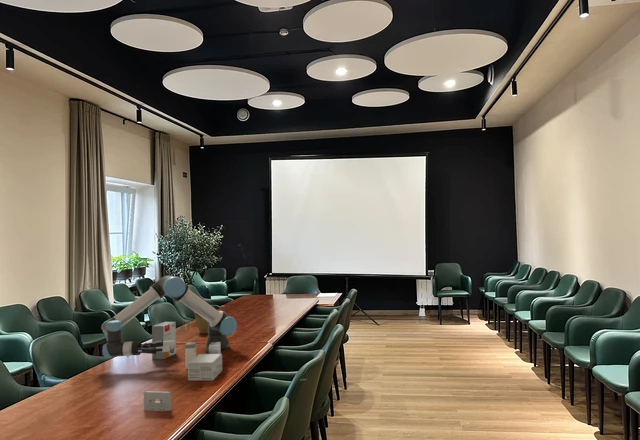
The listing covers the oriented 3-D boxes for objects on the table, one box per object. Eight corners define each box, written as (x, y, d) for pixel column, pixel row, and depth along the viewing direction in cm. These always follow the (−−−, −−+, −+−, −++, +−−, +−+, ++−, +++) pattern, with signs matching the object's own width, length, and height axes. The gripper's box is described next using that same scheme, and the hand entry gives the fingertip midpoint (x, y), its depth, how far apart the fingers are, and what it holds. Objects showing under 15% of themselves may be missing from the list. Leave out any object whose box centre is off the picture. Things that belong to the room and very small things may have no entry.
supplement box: (198, 371, 257) (198, 353, 257) (222, 371, 256) (222, 353, 256) (187, 380, 240) (186, 362, 240) (212, 380, 239) (212, 361, 239)
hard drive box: (163, 360, 282) (162, 326, 283) (151, 359, 284) (151, 326, 285) (176, 353, 298) (175, 321, 298) (165, 353, 299) (164, 321, 300)
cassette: (172, 409, 200) (171, 391, 200) (170, 411, 198) (169, 393, 198) (145, 409, 202) (145, 390, 202) (143, 410, 200) (142, 392, 200)
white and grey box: (185, 368, 262) (185, 344, 263) (187, 365, 268) (187, 342, 268) (202, 367, 263) (201, 344, 263) (203, 365, 268) (203, 341, 269)
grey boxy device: (201, 368, 260) (201, 346, 261) (204, 363, 271) (204, 342, 271) (218, 368, 261) (217, 346, 261) (220, 363, 271) (220, 341, 272)
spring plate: (204, 366, 262) (204, 351, 262) (207, 362, 270) (207, 348, 270) (207, 366, 262) (206, 351, 262) (209, 362, 270) (209, 348, 270)
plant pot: (218, 331, 363) (218, 310, 364) (204, 335, 351) (203, 313, 351) (205, 329, 371) (204, 309, 372) (190, 333, 359) (189, 312, 359)
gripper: (140, 349, 275) (177, 347, 277) (125, 361, 251) (166, 358, 252) (139, 336, 276) (176, 334, 277) (124, 347, 251) (165, 344, 252)
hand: (172, 345), depth 264 cm, fingers open, 13 cm apart
